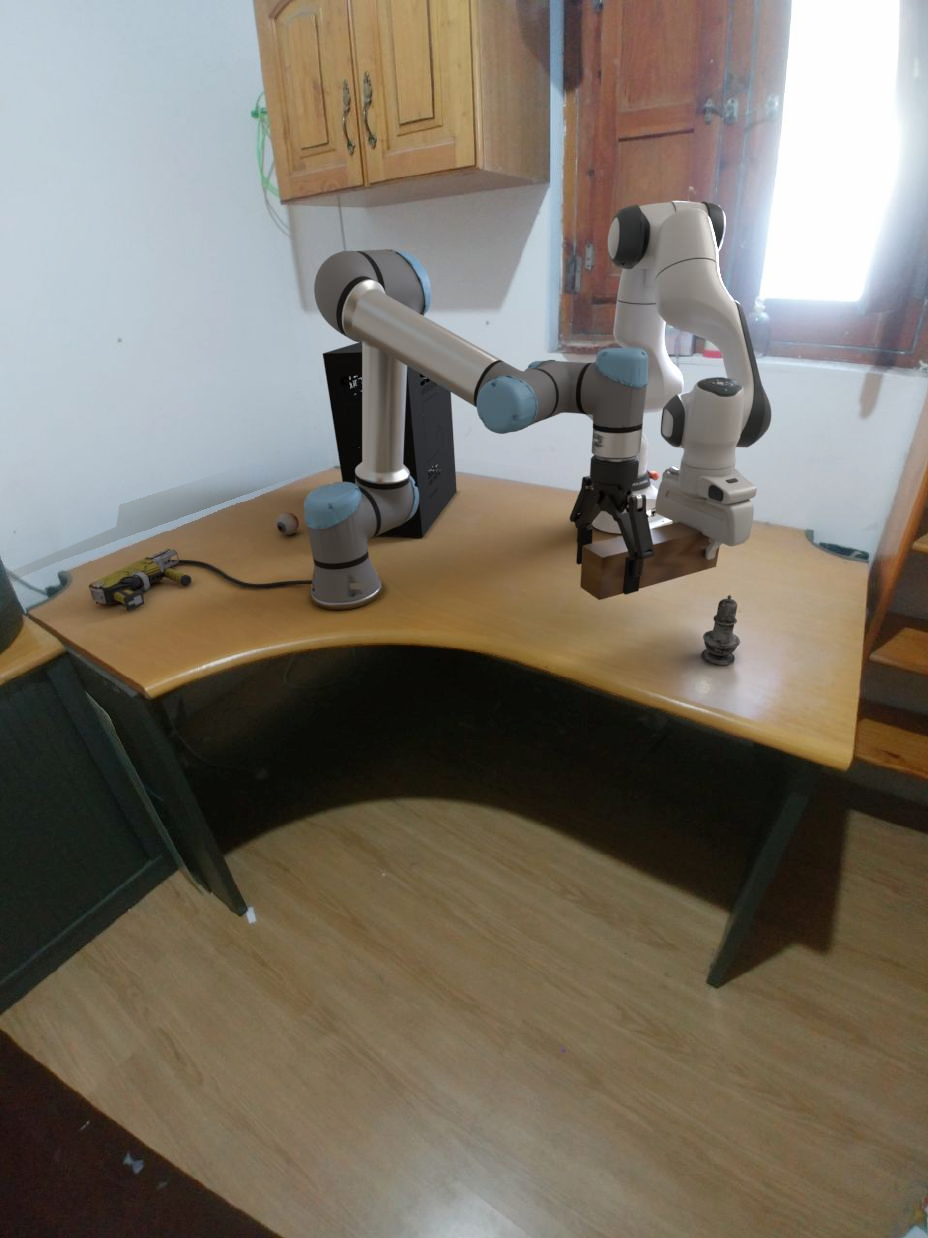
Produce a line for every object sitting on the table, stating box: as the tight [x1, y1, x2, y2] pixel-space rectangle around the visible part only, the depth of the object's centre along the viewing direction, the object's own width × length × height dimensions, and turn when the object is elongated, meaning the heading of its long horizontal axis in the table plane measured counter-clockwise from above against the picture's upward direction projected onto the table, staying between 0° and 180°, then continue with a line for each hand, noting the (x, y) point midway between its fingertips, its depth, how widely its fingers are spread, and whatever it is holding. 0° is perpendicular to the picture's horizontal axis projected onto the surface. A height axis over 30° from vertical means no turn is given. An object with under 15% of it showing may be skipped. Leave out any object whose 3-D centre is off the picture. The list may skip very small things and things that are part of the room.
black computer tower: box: [322, 342, 458, 538], centre depth 165 cm, size 38×20×45 cm, turn 167°
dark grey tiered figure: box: [701, 594, 741, 666], centre depth 101 cm, size 6×6×12 cm
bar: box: [579, 522, 721, 601], centre depth 108 cm, size 26×6×8 cm, turn 115°
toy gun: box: [88, 547, 192, 612], centre depth 139 cm, size 5×24×15 cm
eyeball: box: [275, 511, 300, 536], centre depth 163 cm, size 6×6×6 cm
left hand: (605, 576), depth 106 cm, fingers open, 13 cm apart
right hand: (694, 551), depth 112 cm, fingers closed on bar, 6 cm apart
